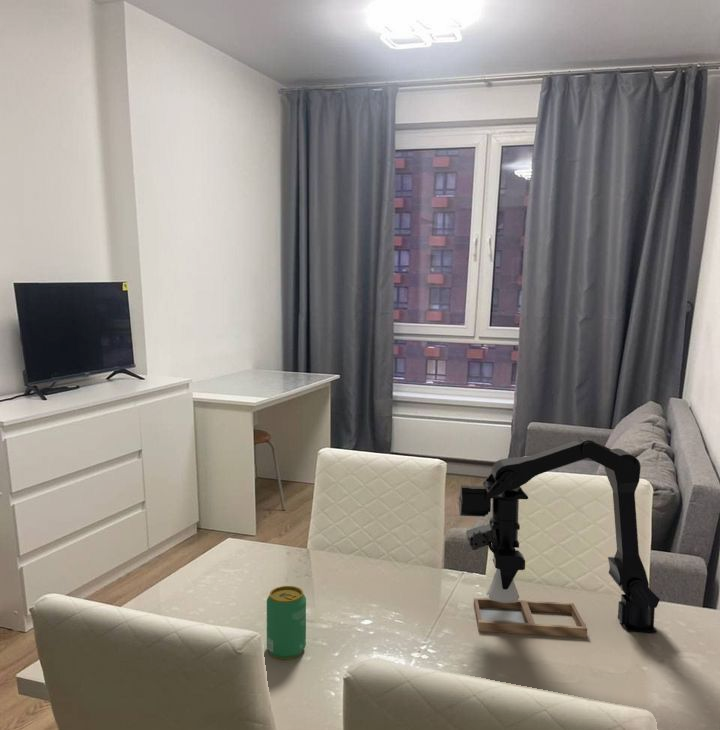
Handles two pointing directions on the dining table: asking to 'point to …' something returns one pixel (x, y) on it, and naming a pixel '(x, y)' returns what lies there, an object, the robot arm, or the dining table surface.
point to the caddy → (525, 617)
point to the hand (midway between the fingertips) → (503, 583)
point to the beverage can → (286, 622)
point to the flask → (502, 590)
